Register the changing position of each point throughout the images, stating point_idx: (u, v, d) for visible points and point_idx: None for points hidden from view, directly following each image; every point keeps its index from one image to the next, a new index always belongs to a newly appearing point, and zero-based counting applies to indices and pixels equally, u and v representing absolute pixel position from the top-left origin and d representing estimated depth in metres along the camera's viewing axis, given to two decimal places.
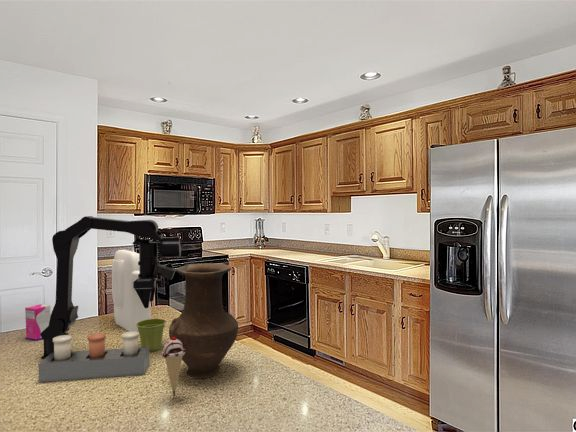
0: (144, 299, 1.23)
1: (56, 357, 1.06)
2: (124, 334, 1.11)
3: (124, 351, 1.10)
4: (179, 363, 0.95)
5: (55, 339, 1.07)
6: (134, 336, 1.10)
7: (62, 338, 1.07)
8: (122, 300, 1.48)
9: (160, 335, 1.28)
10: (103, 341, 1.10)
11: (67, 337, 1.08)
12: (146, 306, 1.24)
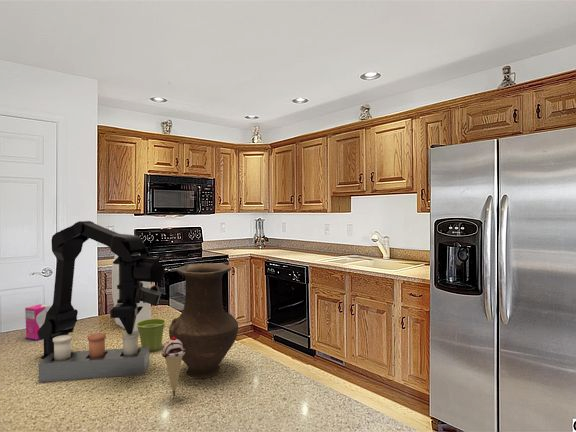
0: (127, 324, 1.10)
1: (56, 357, 1.06)
2: (124, 334, 1.11)
3: (124, 351, 1.10)
4: (179, 363, 0.95)
5: (55, 339, 1.07)
6: (134, 336, 1.10)
7: (62, 338, 1.07)
8: None
9: (160, 335, 1.28)
10: (103, 341, 1.10)
11: (67, 337, 1.08)
12: (129, 332, 1.11)
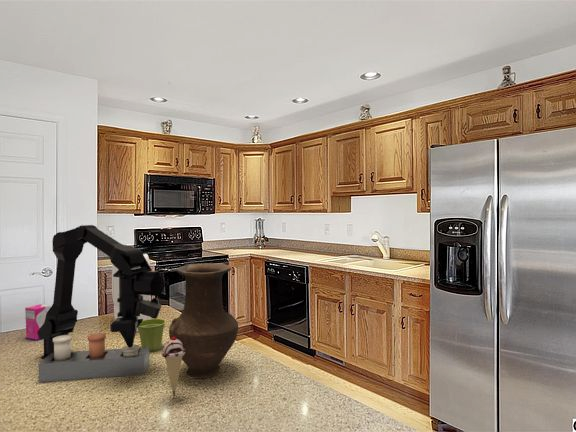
0: (127, 337, 1.10)
1: (56, 357, 1.06)
2: (124, 348, 1.11)
3: None
4: (179, 363, 0.95)
5: (55, 339, 1.07)
6: (134, 350, 1.10)
7: (62, 338, 1.07)
8: None
9: (160, 335, 1.28)
10: (103, 341, 1.10)
11: (67, 337, 1.08)
12: (130, 345, 1.11)
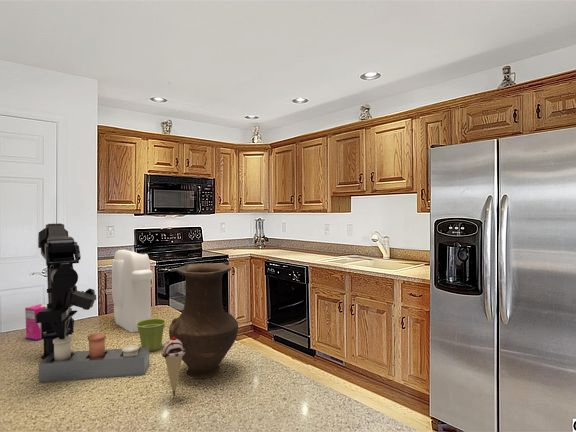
0: (58, 329, 1.07)
1: (56, 358, 1.06)
2: (124, 348, 1.11)
3: None
4: (179, 363, 0.95)
5: (55, 340, 1.07)
6: (134, 350, 1.10)
7: (62, 339, 1.07)
8: (122, 300, 1.48)
9: (160, 335, 1.28)
10: (103, 341, 1.10)
11: (67, 338, 1.08)
12: (61, 337, 1.08)
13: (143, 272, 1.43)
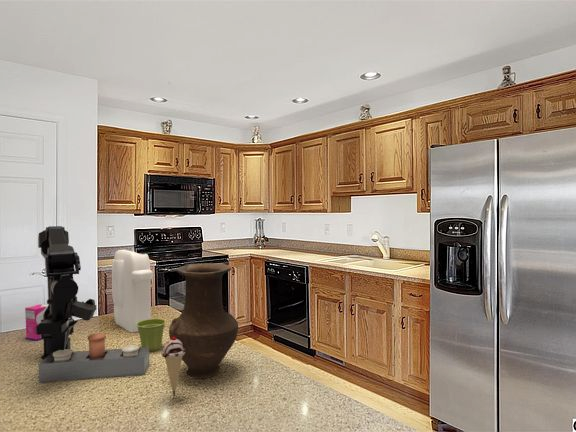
0: (59, 340, 1.07)
1: None
2: (124, 348, 1.11)
3: None
4: (179, 363, 0.95)
5: (55, 354, 1.07)
6: (134, 350, 1.10)
7: (62, 352, 1.07)
8: (122, 300, 1.48)
9: (160, 335, 1.28)
10: (103, 341, 1.10)
11: (67, 351, 1.08)
12: (61, 348, 1.08)
13: (143, 272, 1.43)
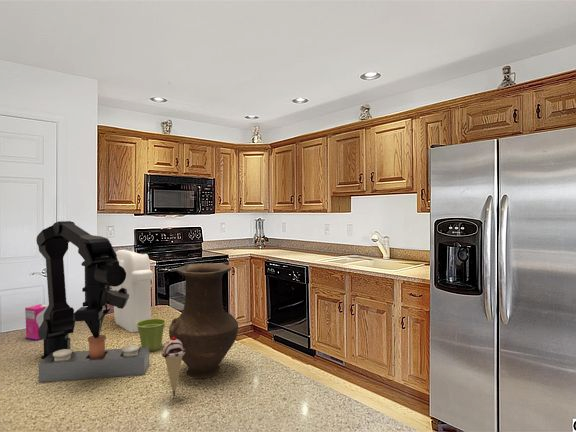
0: (93, 328, 1.08)
1: None
2: (124, 348, 1.11)
3: None
4: (179, 363, 0.95)
5: (55, 354, 1.07)
6: (134, 350, 1.10)
7: (62, 352, 1.07)
8: None
9: (160, 335, 1.28)
10: (103, 343, 1.10)
11: (67, 351, 1.08)
12: (96, 335, 1.09)
13: (143, 272, 1.43)
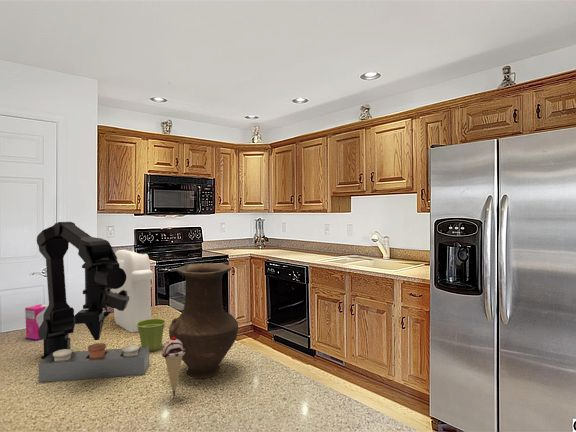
0: (94, 330, 1.08)
1: None
2: (124, 348, 1.11)
3: None
4: (179, 363, 0.95)
5: (55, 354, 1.07)
6: (134, 350, 1.10)
7: (62, 352, 1.07)
8: None
9: (160, 335, 1.28)
10: (103, 351, 1.10)
11: (67, 351, 1.08)
12: (96, 338, 1.09)
13: (143, 272, 1.43)
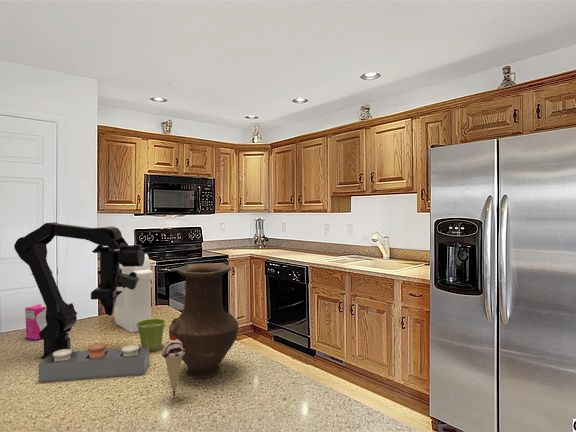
0: (107, 306, 1.22)
1: None
2: (124, 348, 1.11)
3: None
4: (179, 363, 0.95)
5: (55, 354, 1.07)
6: (134, 350, 1.10)
7: (62, 352, 1.07)
8: (122, 300, 1.48)
9: (160, 335, 1.28)
10: (103, 351, 1.10)
11: (67, 351, 1.08)
12: (109, 313, 1.23)
13: (143, 272, 1.43)
